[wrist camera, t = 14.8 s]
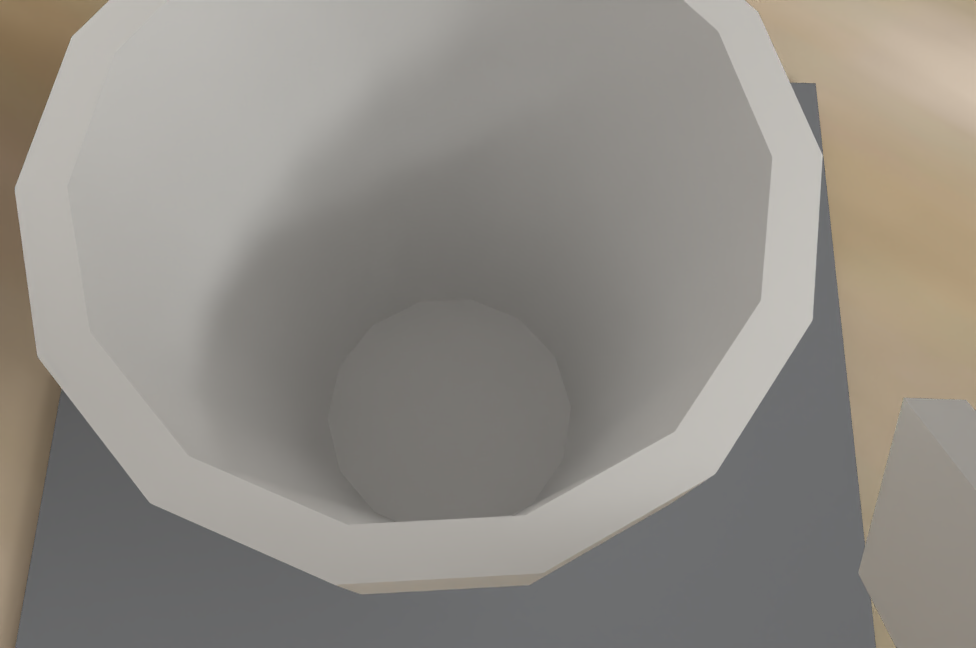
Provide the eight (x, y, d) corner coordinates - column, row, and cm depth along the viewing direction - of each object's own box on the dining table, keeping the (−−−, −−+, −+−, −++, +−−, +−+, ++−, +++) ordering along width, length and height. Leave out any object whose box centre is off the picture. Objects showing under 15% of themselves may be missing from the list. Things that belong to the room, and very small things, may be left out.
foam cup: (313, 219, 25) (156, -190, 12) (654, 275, 24) (838, -90, 12) (221, 578, 22) (-105, 505, 9) (608, 648, 21) (790, 666, 9)
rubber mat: (806, 98, 27) (815, 83, 26) (884, 865, 21) (900, 874, 20) (129, 79, 27) (119, 63, 26) (-4, 845, 21) (-22, 853, 20)
